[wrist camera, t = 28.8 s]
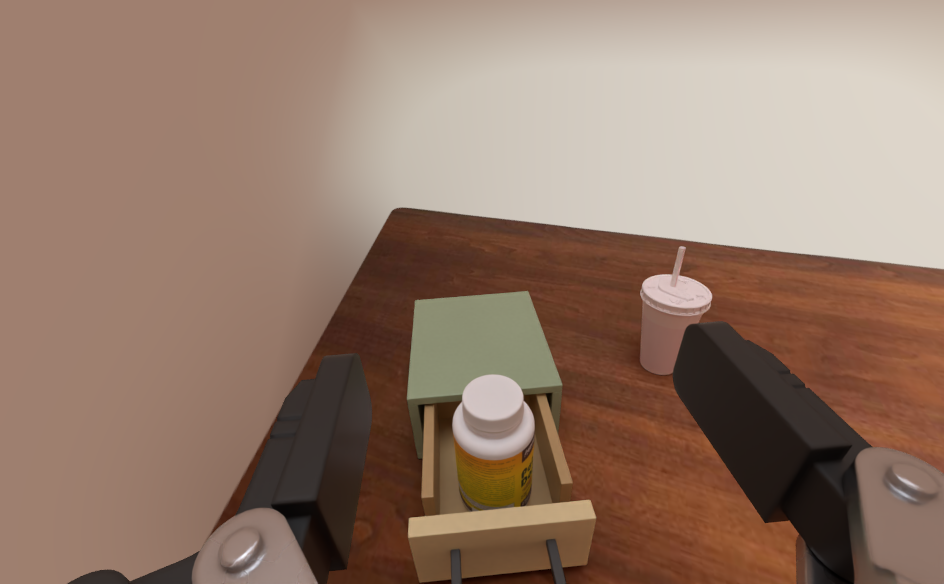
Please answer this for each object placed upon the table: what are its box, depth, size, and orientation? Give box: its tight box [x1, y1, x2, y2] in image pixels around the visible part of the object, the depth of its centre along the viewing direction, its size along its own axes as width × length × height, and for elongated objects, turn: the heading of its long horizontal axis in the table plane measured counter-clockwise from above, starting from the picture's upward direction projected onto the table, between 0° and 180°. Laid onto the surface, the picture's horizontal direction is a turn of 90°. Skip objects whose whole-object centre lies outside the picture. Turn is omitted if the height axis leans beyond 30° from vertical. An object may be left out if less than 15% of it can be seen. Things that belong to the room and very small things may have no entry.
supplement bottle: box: [452, 374, 535, 512], centre depth 28 cm, size 6×6×10 cm
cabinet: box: [407, 291, 562, 459], centre depth 41 cm, size 15×13×8 cm
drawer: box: [408, 393, 596, 584], centre depth 29 cm, size 18×11×6 cm, turn 4°
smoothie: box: [640, 246, 712, 375], centre depth 41 cm, size 6×6×14 cm
